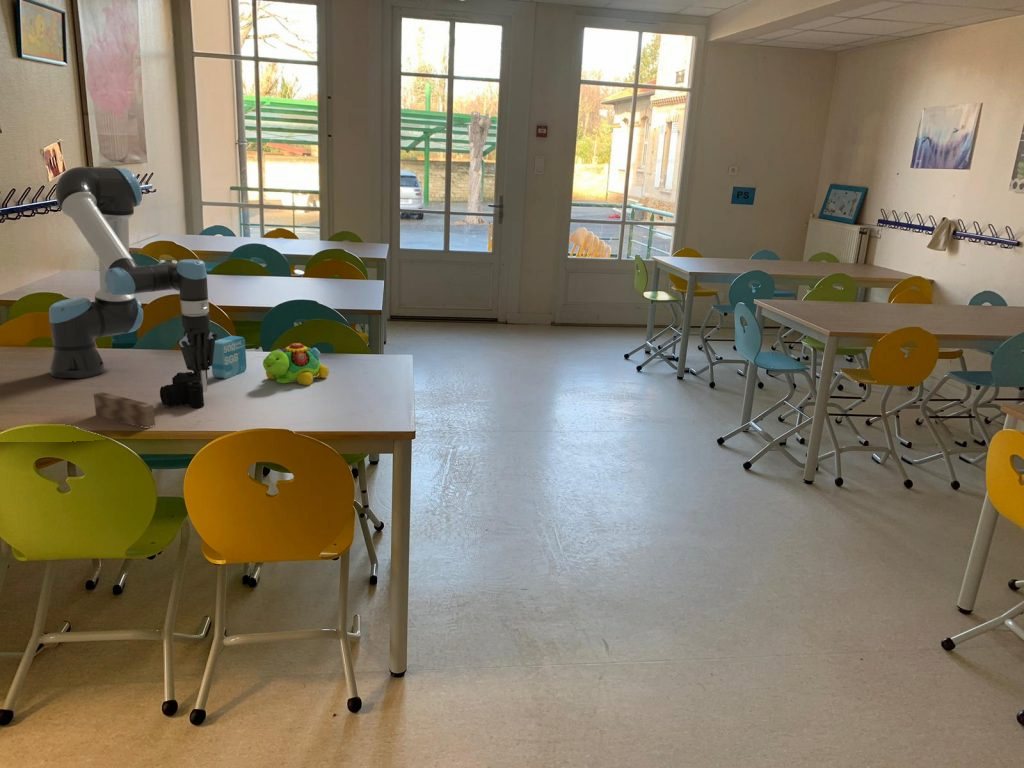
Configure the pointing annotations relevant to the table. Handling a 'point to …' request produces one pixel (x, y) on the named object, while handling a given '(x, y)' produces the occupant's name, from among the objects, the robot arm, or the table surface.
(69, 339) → the robot arm
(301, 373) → the turtle toy
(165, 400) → the film camera
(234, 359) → the data package
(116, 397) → the stone brick
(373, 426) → the table surface
